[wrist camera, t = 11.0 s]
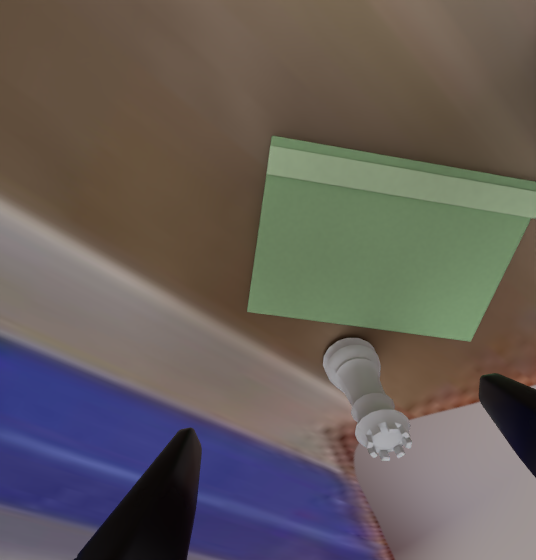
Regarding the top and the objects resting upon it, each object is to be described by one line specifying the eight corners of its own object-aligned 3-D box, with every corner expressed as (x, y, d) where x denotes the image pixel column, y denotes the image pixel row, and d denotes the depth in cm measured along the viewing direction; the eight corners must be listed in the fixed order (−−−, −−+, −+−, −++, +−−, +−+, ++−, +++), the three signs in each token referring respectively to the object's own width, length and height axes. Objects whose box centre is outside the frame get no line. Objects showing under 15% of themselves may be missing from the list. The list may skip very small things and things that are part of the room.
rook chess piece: (315, 373, 23) (339, 466, 15) (330, 329, 21) (365, 409, 14) (364, 381, 23) (410, 476, 16) (382, 339, 22) (443, 422, 14)
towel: (537, 183, 18) (553, 183, 17) (463, 336, 22) (473, 344, 21) (271, 137, 17) (271, 134, 16) (247, 307, 21) (246, 314, 20)
